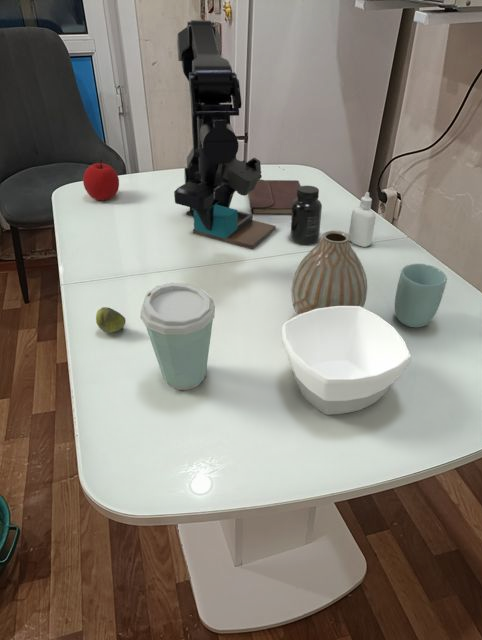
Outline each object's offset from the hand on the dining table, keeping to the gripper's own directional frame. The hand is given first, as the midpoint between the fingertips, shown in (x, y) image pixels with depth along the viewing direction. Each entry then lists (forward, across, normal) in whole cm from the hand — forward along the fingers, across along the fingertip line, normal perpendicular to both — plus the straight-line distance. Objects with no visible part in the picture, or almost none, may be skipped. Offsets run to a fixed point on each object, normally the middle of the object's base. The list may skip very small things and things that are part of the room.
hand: (215, 224), depth 101 cm
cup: (+10, +2, -41) cm, 42 cm away
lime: (+10, -28, +5) cm, 30 cm away
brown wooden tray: (+11, +18, +6) cm, 22 cm away
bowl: (+10, -22, -35) cm, 42 cm away
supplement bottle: (+11, +23, -10) cm, 28 cm away
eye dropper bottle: (+11, +28, -22) cm, 37 cm away
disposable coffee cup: (+10, -32, -13) cm, 36 cm away
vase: (+10, -7, -27) cm, 30 cm away
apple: (+12, +18, +46) cm, 51 cm away
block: (+1, 0, 0) cm, 1 cm away
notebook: (+11, +41, +6) cm, 43 cm away
